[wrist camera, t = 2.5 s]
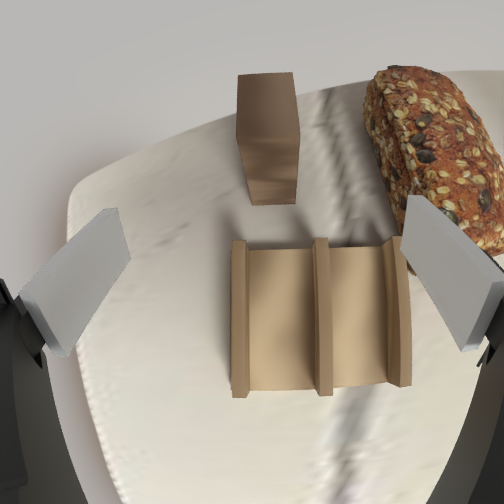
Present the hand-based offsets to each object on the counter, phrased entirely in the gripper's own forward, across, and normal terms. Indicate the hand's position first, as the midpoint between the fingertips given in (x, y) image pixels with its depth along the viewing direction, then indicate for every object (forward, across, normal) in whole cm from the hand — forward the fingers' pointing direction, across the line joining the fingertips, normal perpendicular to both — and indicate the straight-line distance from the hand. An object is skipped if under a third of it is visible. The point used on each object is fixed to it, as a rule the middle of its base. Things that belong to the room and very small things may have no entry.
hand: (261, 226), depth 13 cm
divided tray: (+8, +4, -12) cm, 15 cm away
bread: (+17, +16, -4) cm, 24 cm away
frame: (+17, 0, -3) cm, 18 cm away
